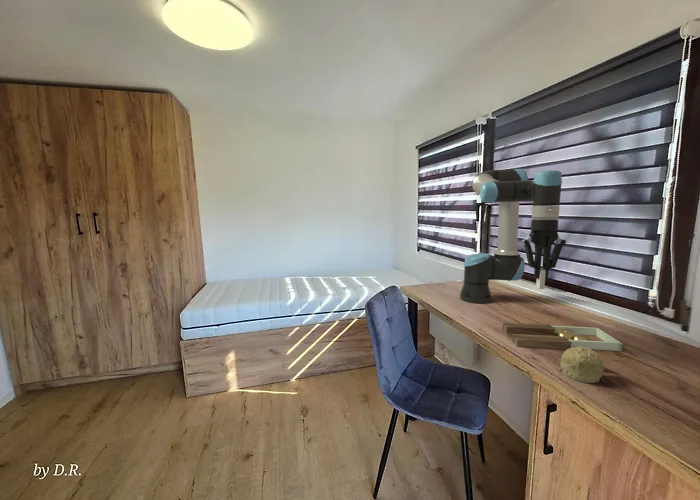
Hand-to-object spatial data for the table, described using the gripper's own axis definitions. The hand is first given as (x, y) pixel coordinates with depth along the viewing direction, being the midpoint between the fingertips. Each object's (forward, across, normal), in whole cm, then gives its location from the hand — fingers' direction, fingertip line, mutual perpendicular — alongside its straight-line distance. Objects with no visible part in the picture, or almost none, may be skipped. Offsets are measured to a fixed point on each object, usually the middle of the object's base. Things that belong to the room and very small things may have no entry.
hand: (540, 287), depth 102 cm
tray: (+19, +14, 0) cm, 24 cm away
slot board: (+19, -1, 0) cm, 19 cm away
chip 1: (+19, +11, +3) cm, 22 cm away
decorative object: (+20, +3, -21) cm, 29 cm away
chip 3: (+19, +12, -2) cm, 23 cm away
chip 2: (+18, +8, -1) cm, 20 cm away
